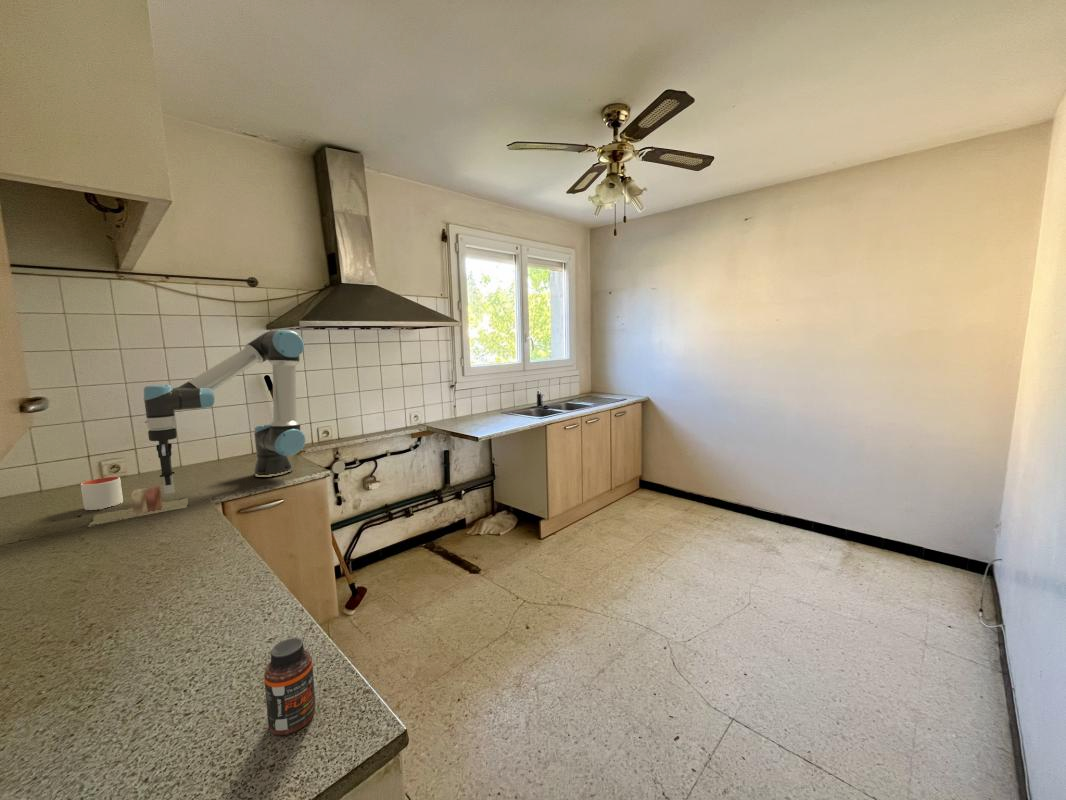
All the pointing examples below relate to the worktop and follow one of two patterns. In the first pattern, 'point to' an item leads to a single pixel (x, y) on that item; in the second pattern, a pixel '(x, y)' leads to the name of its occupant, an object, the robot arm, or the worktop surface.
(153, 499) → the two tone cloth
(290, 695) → the supplement bottle
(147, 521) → the worktop surface
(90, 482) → the cup
